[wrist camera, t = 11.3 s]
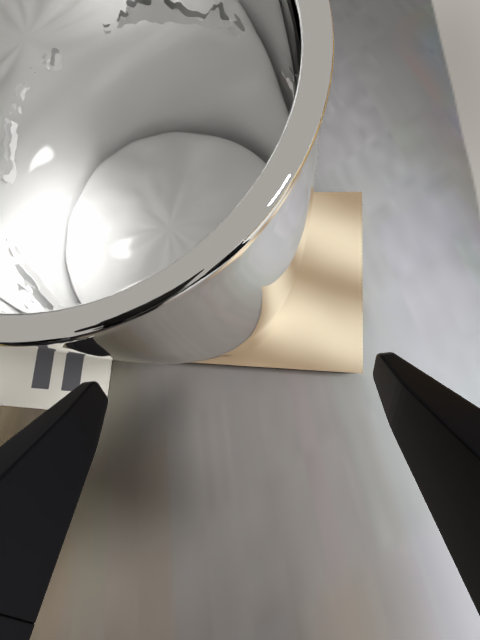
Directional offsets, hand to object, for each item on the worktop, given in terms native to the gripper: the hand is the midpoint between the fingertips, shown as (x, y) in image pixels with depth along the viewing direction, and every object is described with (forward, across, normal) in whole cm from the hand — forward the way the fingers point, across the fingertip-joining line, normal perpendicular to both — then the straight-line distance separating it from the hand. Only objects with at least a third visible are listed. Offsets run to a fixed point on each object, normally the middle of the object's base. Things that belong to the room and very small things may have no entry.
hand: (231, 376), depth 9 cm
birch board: (+11, -2, +3) cm, 12 cm away
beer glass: (+9, +1, +3) cm, 10 cm away
